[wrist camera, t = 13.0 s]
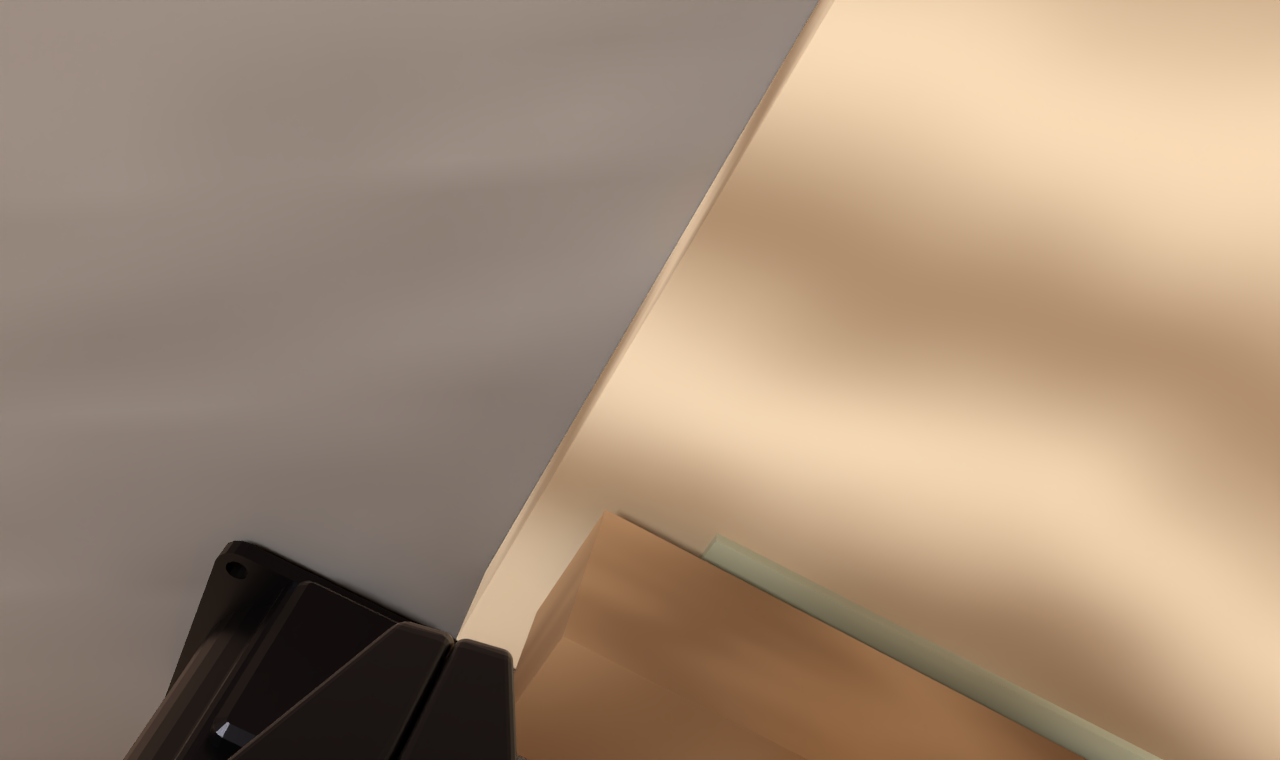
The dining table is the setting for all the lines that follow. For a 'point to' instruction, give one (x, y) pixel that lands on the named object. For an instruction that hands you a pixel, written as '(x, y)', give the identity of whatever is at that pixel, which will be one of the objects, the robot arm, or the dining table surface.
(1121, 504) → the stool board
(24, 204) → the dining table surface
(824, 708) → the stool leg
